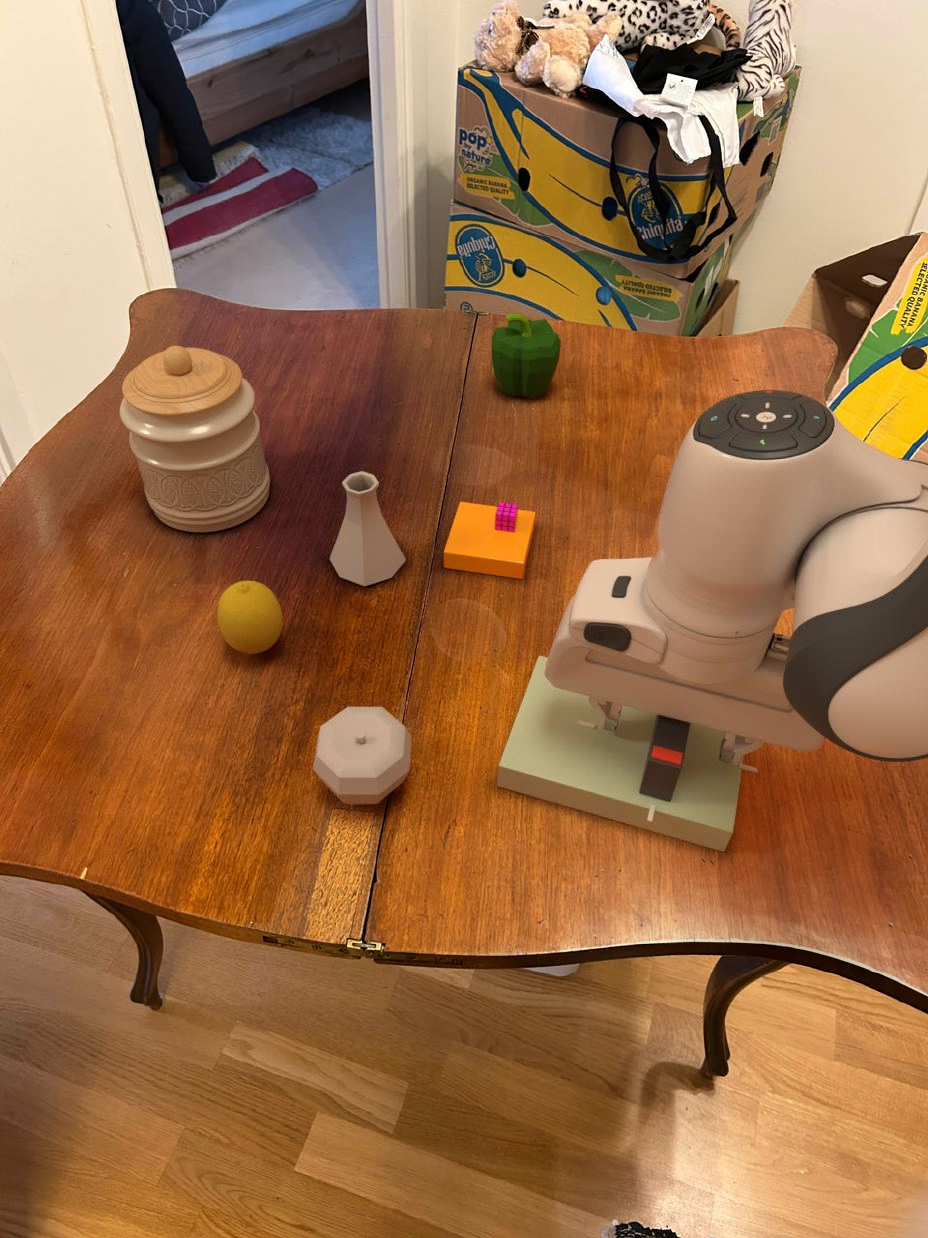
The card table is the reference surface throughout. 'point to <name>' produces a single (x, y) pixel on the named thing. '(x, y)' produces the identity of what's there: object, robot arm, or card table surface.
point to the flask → (365, 536)
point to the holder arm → (664, 757)
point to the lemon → (249, 617)
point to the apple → (362, 754)
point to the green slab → (616, 766)
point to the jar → (196, 439)
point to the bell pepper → (525, 356)
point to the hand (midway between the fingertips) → (667, 739)
